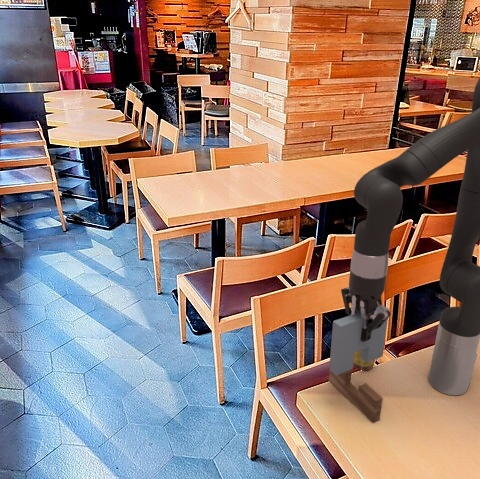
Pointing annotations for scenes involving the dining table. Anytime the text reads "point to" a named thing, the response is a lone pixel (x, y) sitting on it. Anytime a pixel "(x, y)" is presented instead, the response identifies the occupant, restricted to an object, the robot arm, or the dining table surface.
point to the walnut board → (358, 395)
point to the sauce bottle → (362, 362)
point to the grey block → (354, 342)
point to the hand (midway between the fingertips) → (360, 336)
